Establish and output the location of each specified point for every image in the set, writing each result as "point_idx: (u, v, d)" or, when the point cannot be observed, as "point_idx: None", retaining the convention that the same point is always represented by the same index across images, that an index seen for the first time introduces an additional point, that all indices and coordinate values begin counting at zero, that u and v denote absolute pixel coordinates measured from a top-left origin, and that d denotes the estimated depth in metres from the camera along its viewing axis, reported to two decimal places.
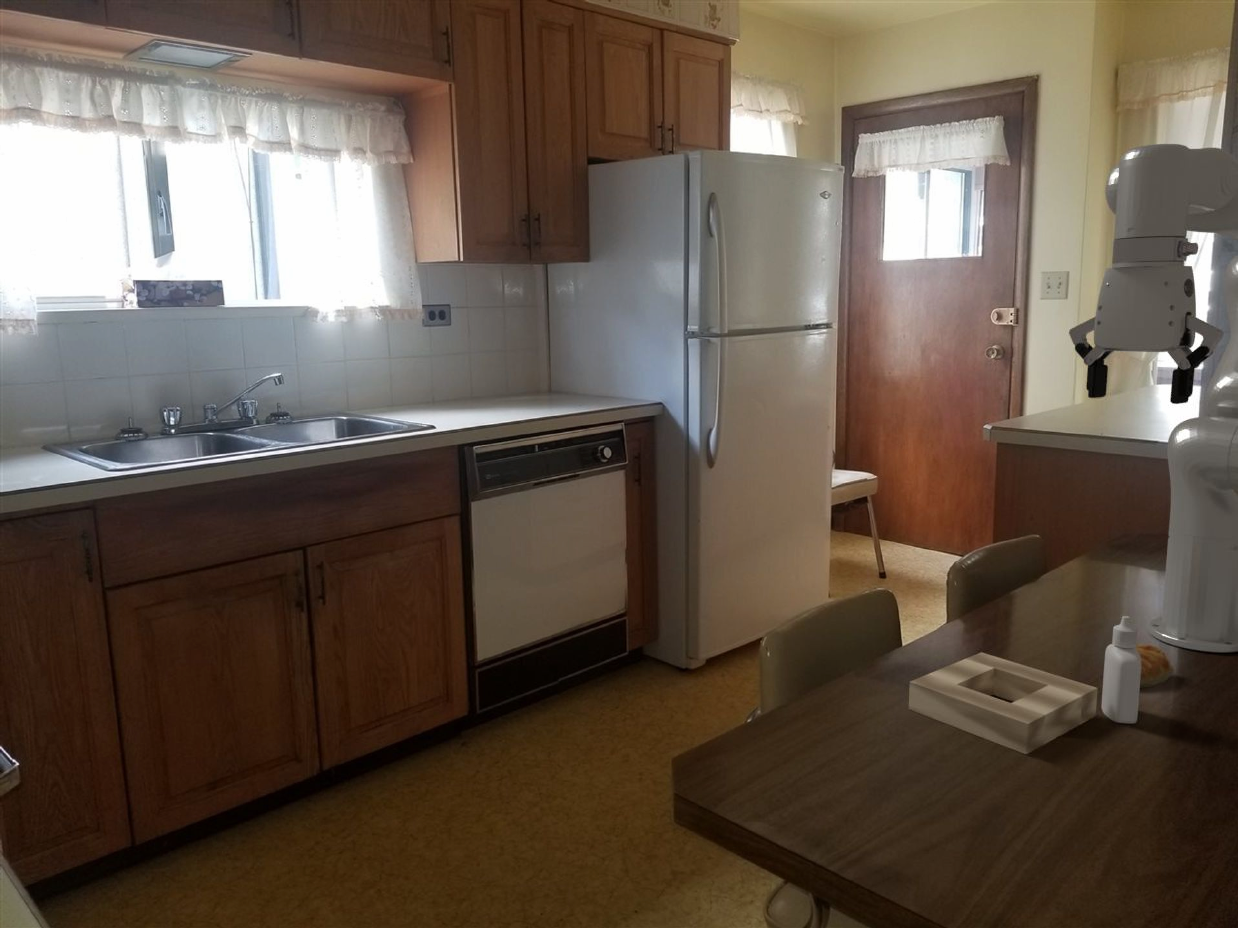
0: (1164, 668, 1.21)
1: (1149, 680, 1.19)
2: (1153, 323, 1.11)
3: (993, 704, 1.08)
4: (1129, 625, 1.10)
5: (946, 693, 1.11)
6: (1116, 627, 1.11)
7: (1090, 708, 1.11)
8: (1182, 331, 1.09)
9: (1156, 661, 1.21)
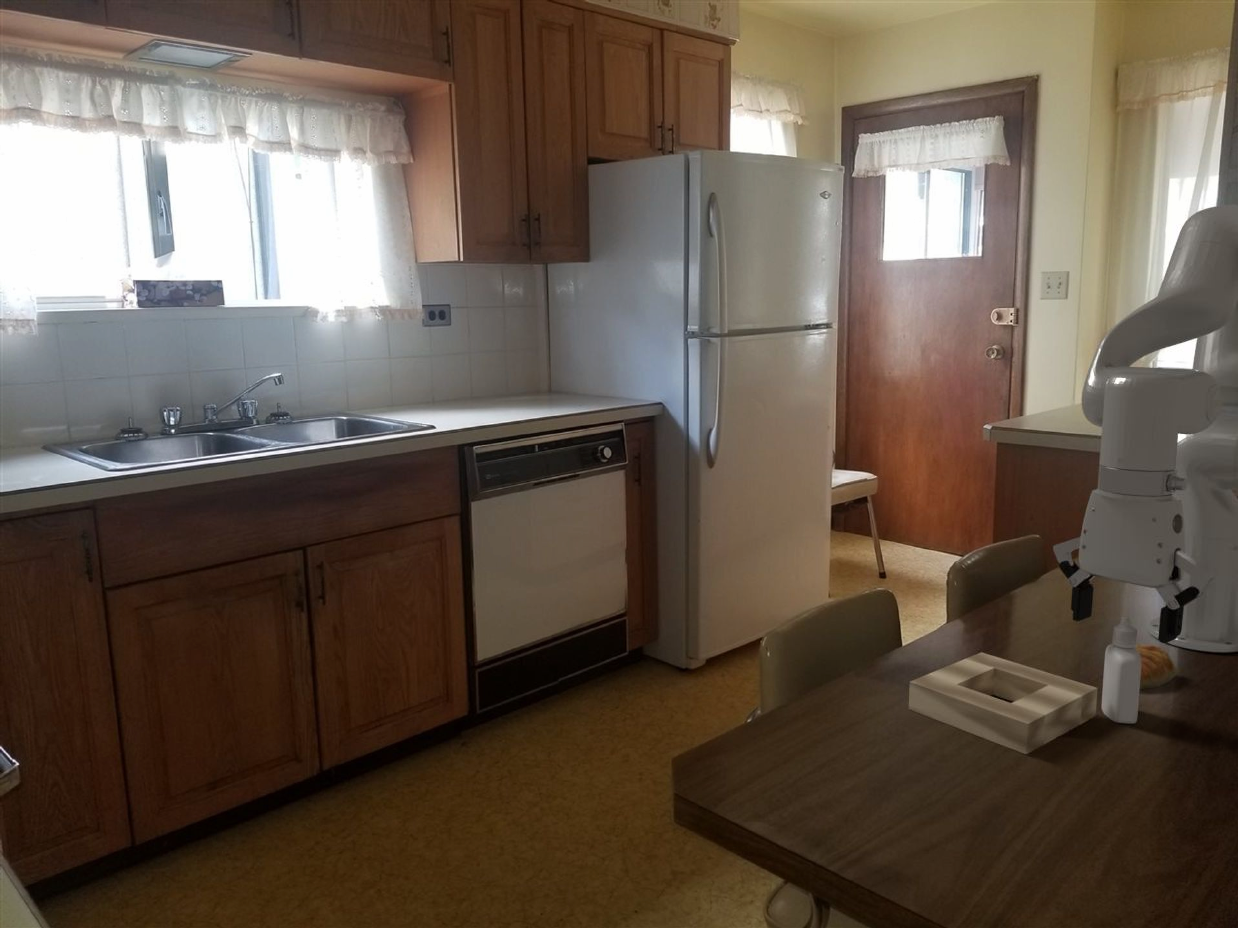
0: (1168, 668, 1.21)
1: (1154, 680, 1.19)
2: (1140, 558, 1.06)
3: (993, 704, 1.08)
4: (1129, 625, 1.10)
5: (946, 693, 1.11)
6: (1116, 627, 1.11)
7: (1090, 708, 1.11)
8: (1171, 569, 1.04)
9: (1160, 662, 1.21)
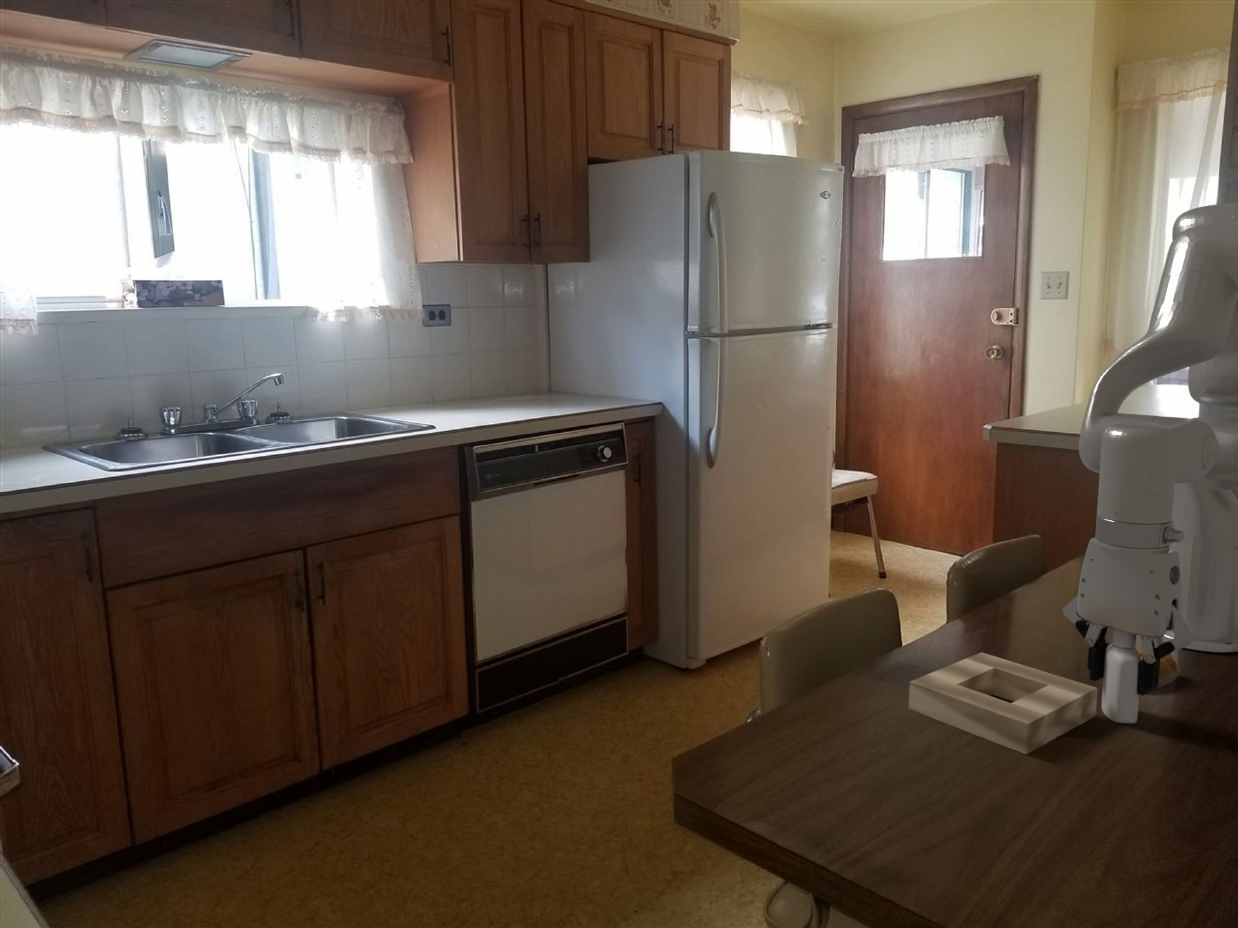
0: (1172, 668, 1.21)
1: None
2: (1138, 608, 1.07)
3: (993, 704, 1.08)
4: None
5: (946, 693, 1.11)
6: None
7: (1090, 708, 1.11)
8: (1168, 620, 1.05)
9: (1164, 662, 1.20)
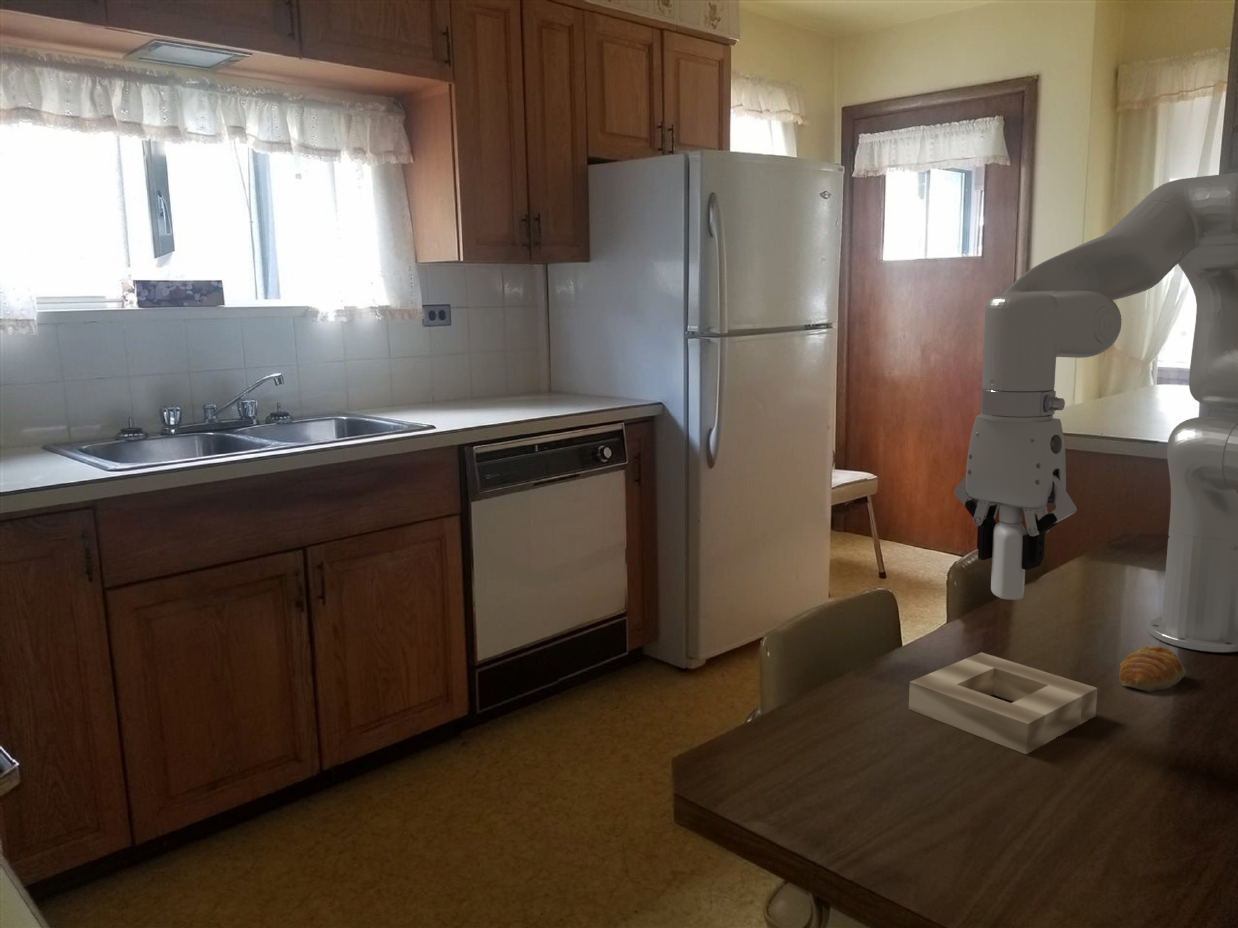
0: (1178, 669, 1.21)
1: (1165, 682, 1.19)
2: (1020, 479, 1.06)
3: (993, 704, 1.08)
4: None
5: (946, 693, 1.11)
6: None
7: (1090, 708, 1.11)
8: (1049, 490, 1.04)
9: (1170, 663, 1.20)
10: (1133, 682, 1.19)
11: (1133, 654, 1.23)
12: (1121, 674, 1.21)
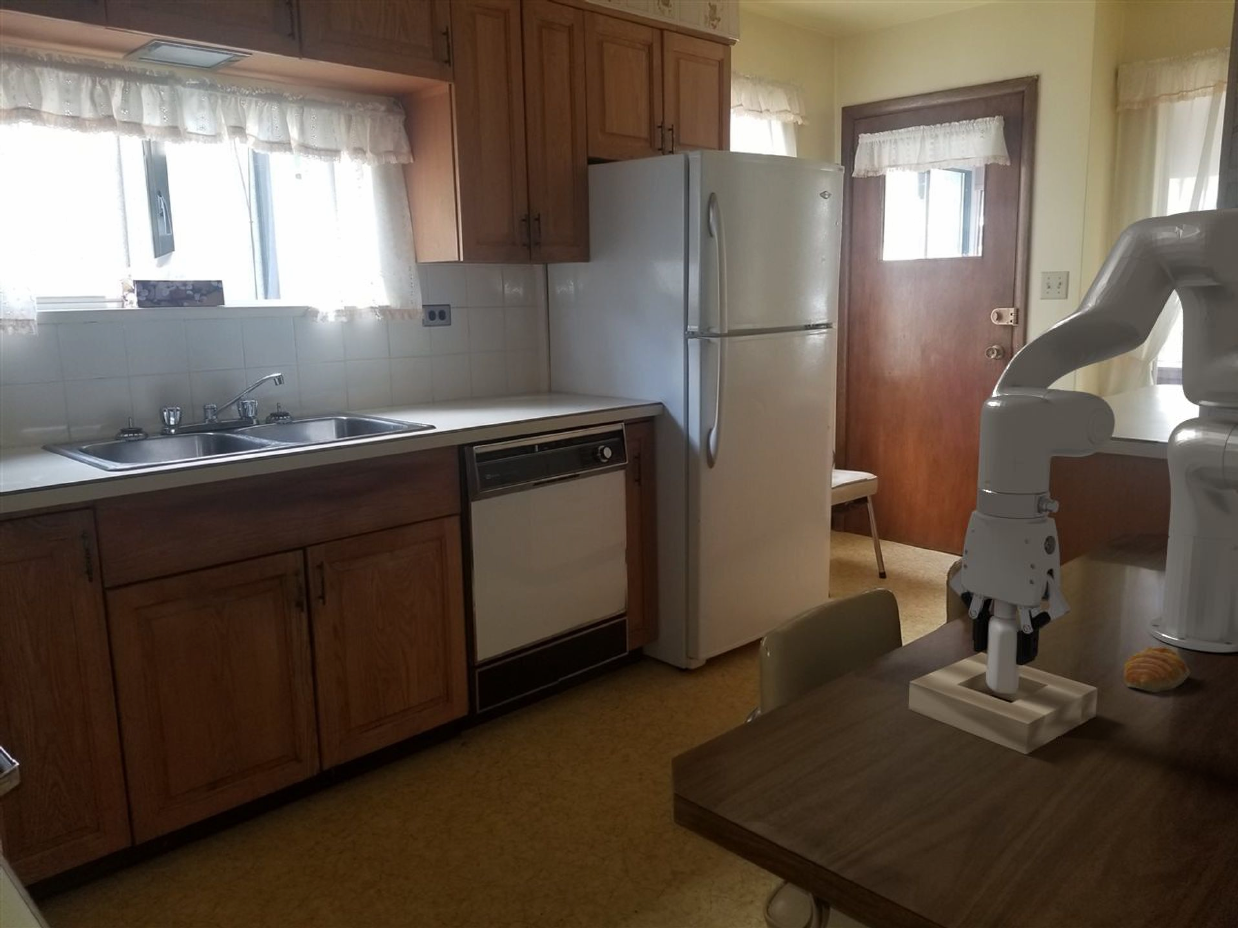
0: (1182, 670, 1.20)
1: (1170, 683, 1.18)
2: (1015, 578, 1.07)
3: (993, 704, 1.08)
4: None
5: (946, 693, 1.11)
6: None
7: (1090, 708, 1.11)
8: (1043, 590, 1.06)
9: (1175, 664, 1.20)
10: (1139, 683, 1.18)
11: (1137, 655, 1.23)
12: (1126, 675, 1.20)
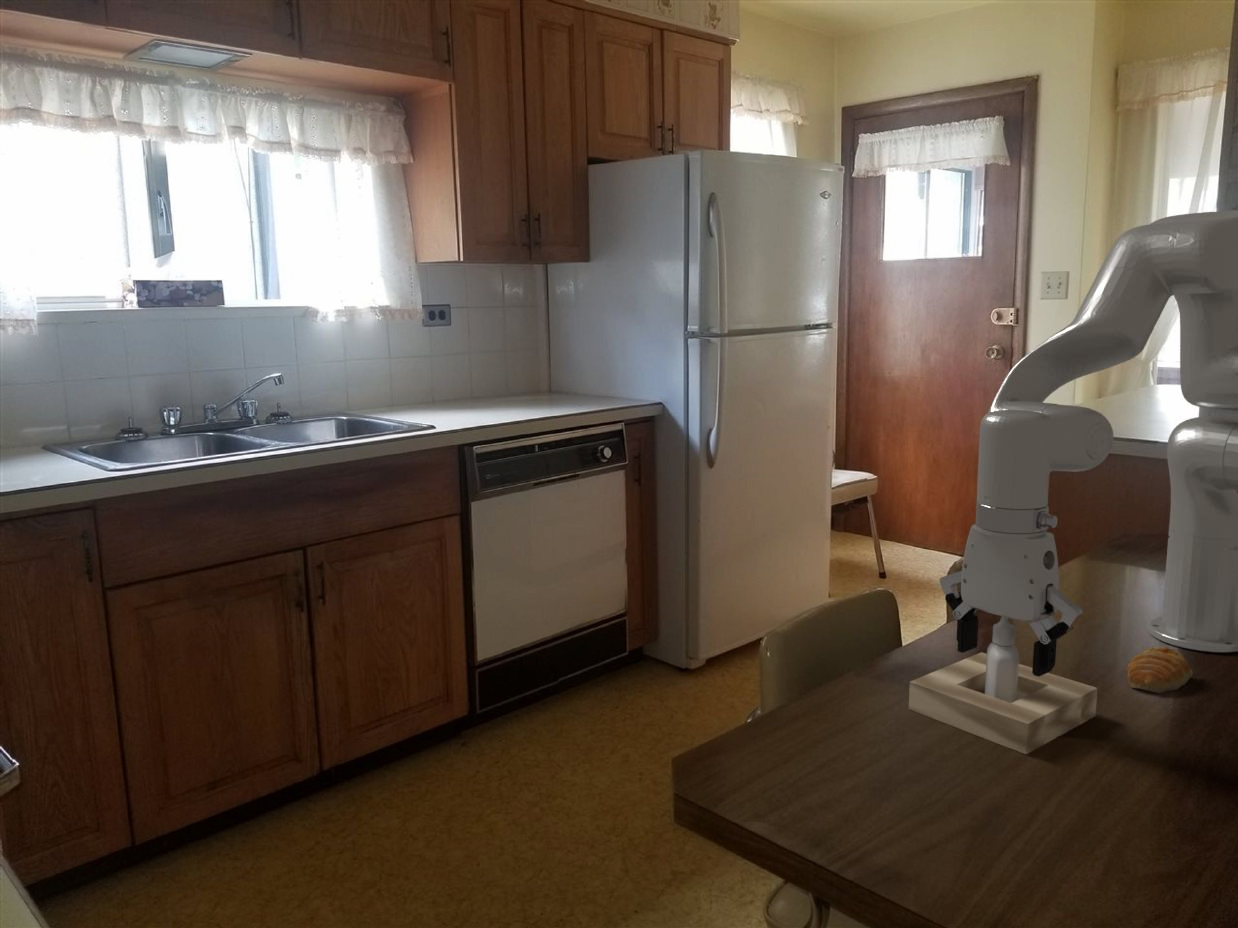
0: (1185, 670, 1.20)
1: (1174, 683, 1.18)
2: (1014, 593, 1.08)
3: (993, 704, 1.08)
4: (1007, 623, 1.12)
5: (946, 693, 1.11)
6: (995, 625, 1.12)
7: (1090, 708, 1.11)
8: (1042, 605, 1.06)
9: (1178, 664, 1.20)
10: (1143, 683, 1.18)
11: (1140, 655, 1.23)
12: (1130, 676, 1.20)
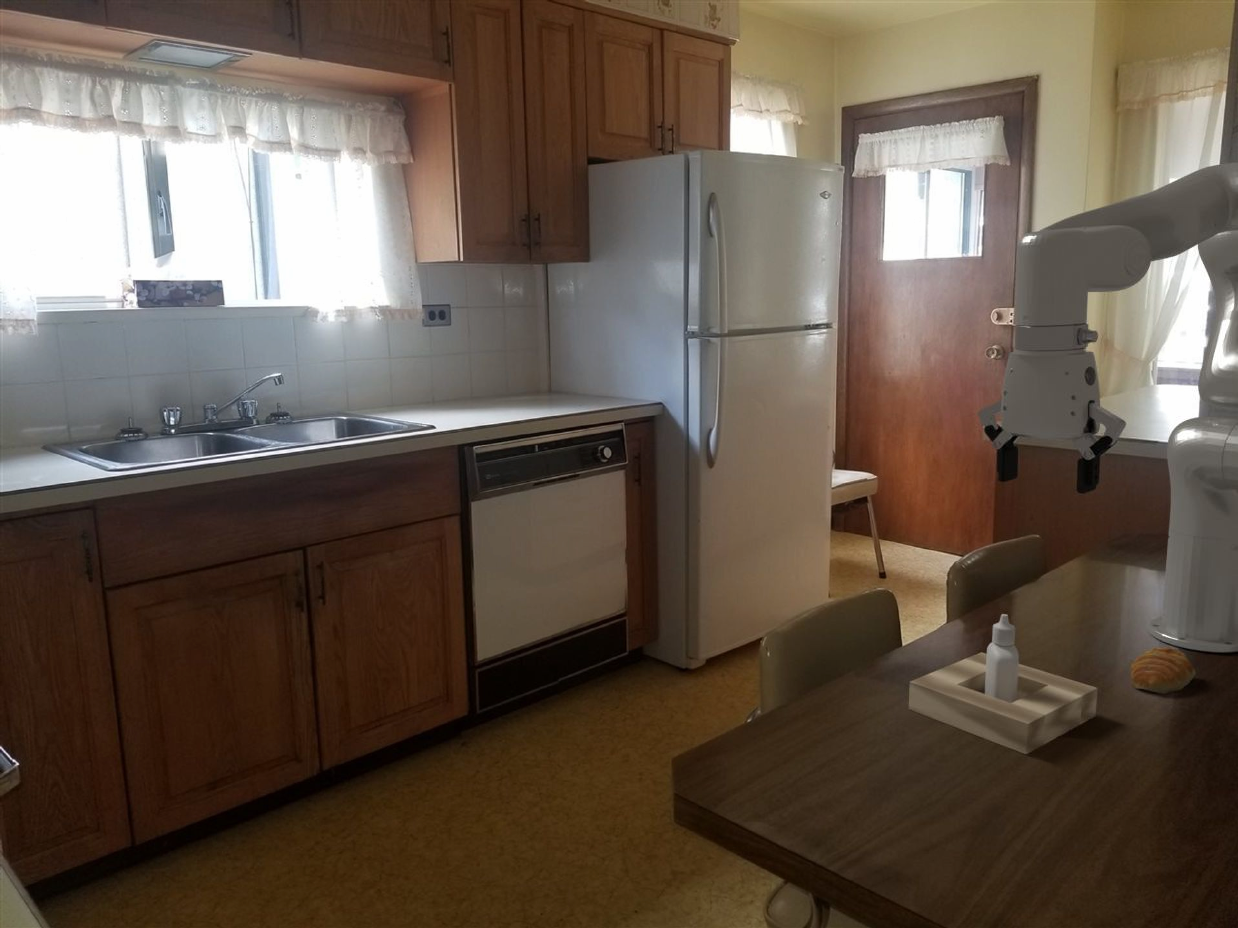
0: (1189, 670, 1.20)
1: (1178, 684, 1.18)
2: (1056, 412, 1.08)
3: (993, 704, 1.08)
4: (1007, 623, 1.12)
5: (946, 693, 1.11)
6: (995, 625, 1.12)
7: (1090, 708, 1.11)
8: (1085, 421, 1.07)
9: (1182, 664, 1.20)
10: (1147, 684, 1.18)
11: (1144, 656, 1.23)
12: (1134, 676, 1.20)
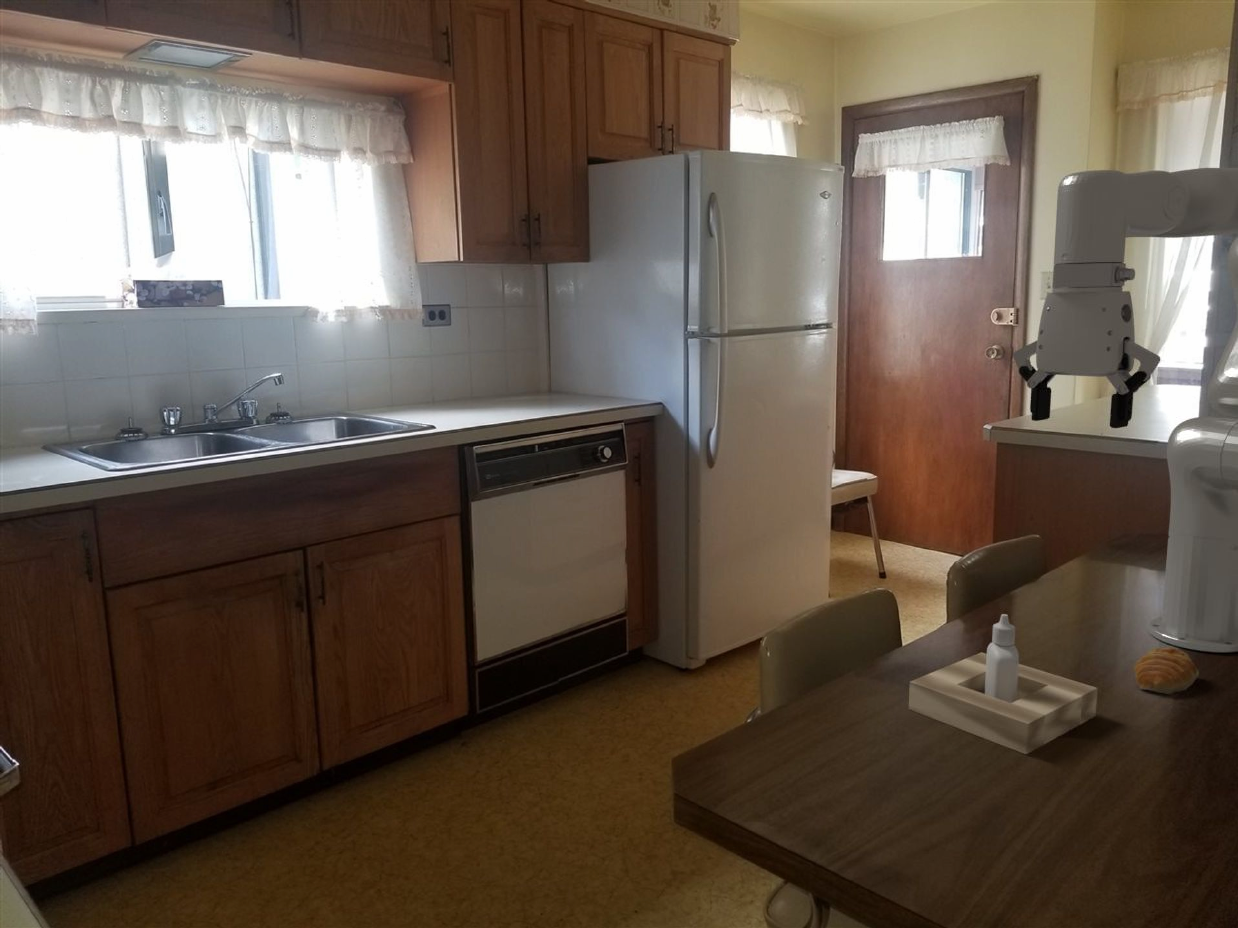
0: (1193, 671, 1.20)
1: (1183, 684, 1.18)
2: (1092, 348, 1.12)
3: (993, 704, 1.08)
4: (1007, 623, 1.12)
5: (946, 693, 1.11)
6: (995, 625, 1.12)
7: (1090, 708, 1.11)
8: (1120, 356, 1.10)
9: (1186, 664, 1.19)
10: (1152, 685, 1.18)
11: (1147, 656, 1.22)
12: (1139, 677, 1.19)
